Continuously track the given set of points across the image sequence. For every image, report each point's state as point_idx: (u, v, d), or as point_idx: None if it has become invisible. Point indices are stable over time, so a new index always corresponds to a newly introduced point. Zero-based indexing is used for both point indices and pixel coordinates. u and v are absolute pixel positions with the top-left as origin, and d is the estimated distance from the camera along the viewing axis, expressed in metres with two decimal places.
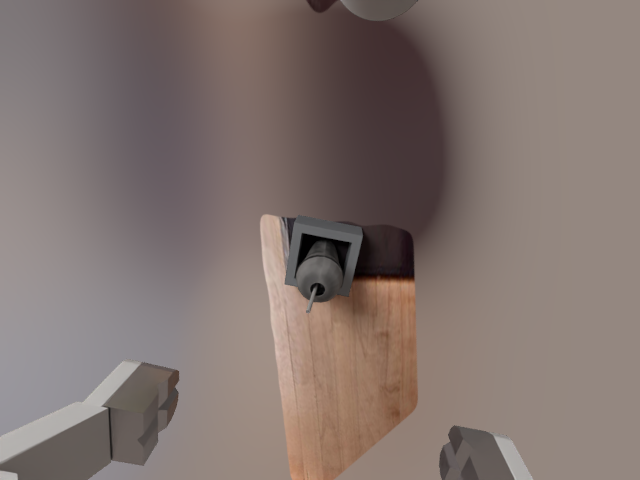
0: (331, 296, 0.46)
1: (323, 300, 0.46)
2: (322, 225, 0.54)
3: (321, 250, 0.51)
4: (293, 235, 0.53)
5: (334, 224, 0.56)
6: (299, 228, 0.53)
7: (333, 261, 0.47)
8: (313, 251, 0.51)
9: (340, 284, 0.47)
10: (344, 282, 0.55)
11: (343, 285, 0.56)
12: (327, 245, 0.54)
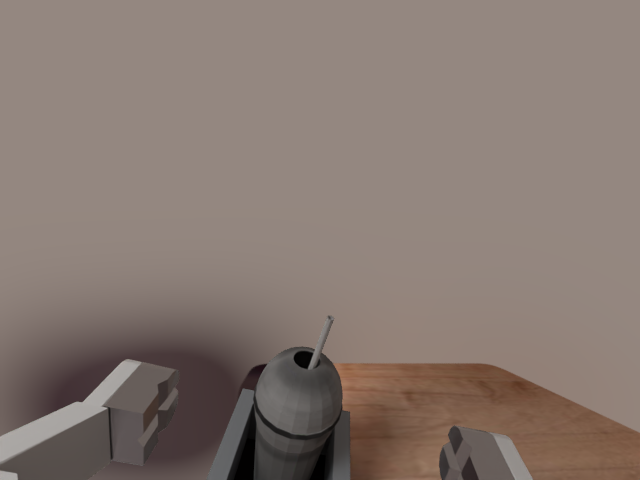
0: None
1: (330, 362, 0.26)
2: None
3: (257, 430, 0.27)
4: None
5: None
6: None
7: None
8: (258, 444, 0.26)
9: (303, 354, 0.28)
10: None
11: None
12: None
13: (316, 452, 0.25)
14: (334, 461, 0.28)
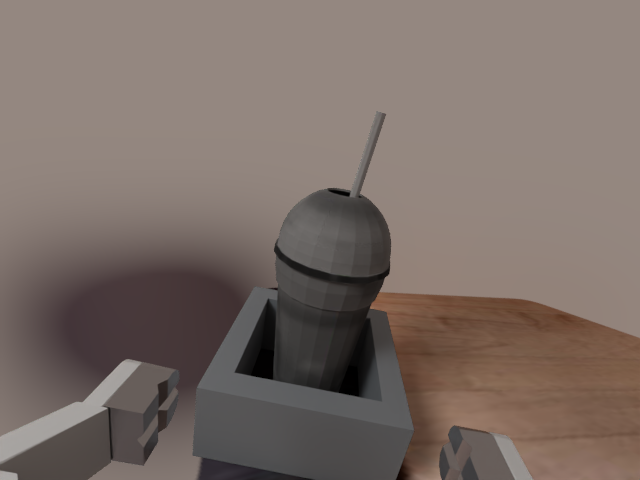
0: None
1: None
2: None
3: (277, 304, 0.21)
4: (240, 392, 0.17)
5: None
6: (219, 376, 0.18)
7: None
8: (280, 315, 0.20)
9: None
10: None
11: None
12: None
13: (359, 320, 0.19)
14: (376, 351, 0.22)
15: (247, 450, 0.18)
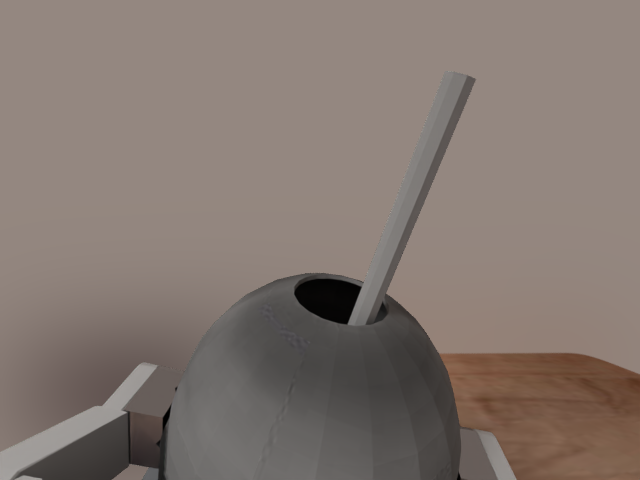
0: None
1: None
2: None
3: None
4: None
5: None
6: None
7: None
8: None
9: (320, 308, 0.11)
10: None
11: None
12: None
13: None
14: None
15: None
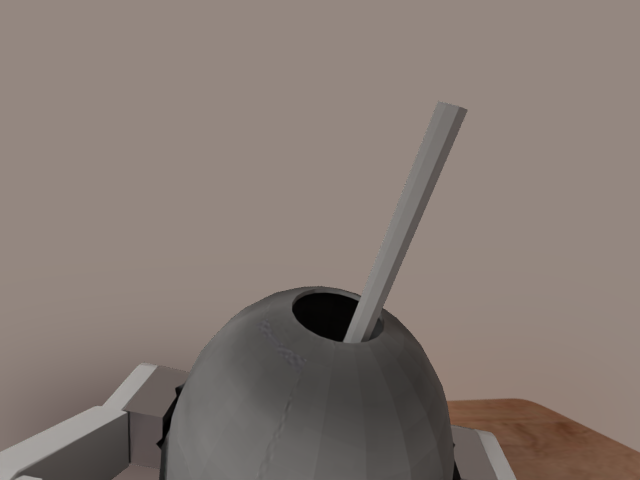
0: None
1: None
2: None
3: None
4: None
5: None
6: None
7: None
8: None
9: (319, 317, 0.11)
10: None
11: None
12: None
13: None
14: None
15: None
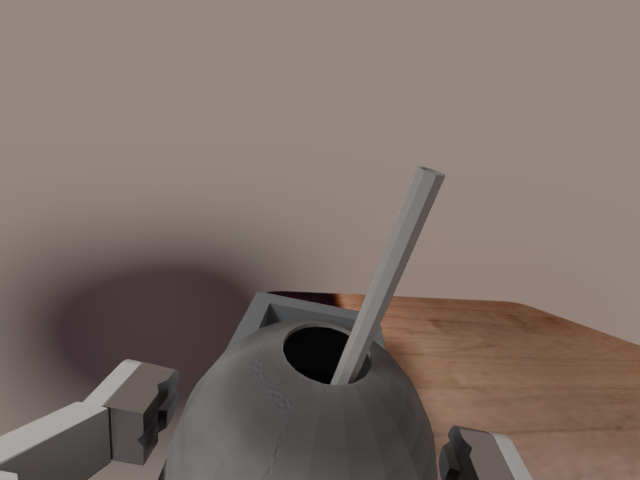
0: None
1: (393, 359, 0.09)
2: None
3: None
4: None
5: None
6: None
7: None
8: None
9: (313, 342, 0.11)
10: (352, 317, 0.28)
11: None
12: None
13: None
14: None
15: None
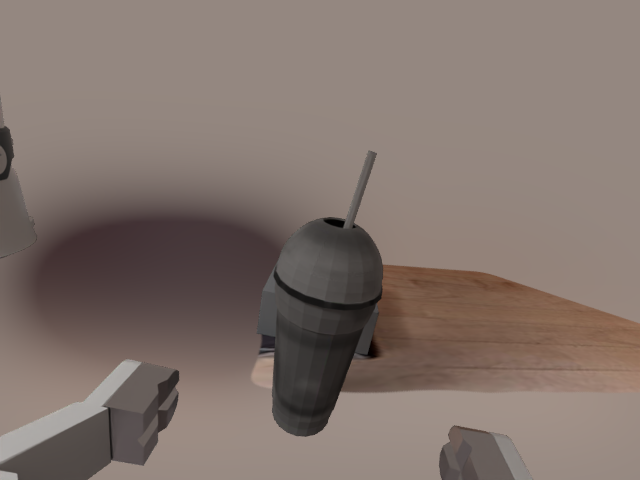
0: None
1: None
2: None
3: (277, 324, 0.22)
4: None
5: None
6: (273, 287, 0.32)
7: None
8: (279, 336, 0.21)
9: None
10: None
11: None
12: None
13: (352, 341, 0.20)
14: None
15: None
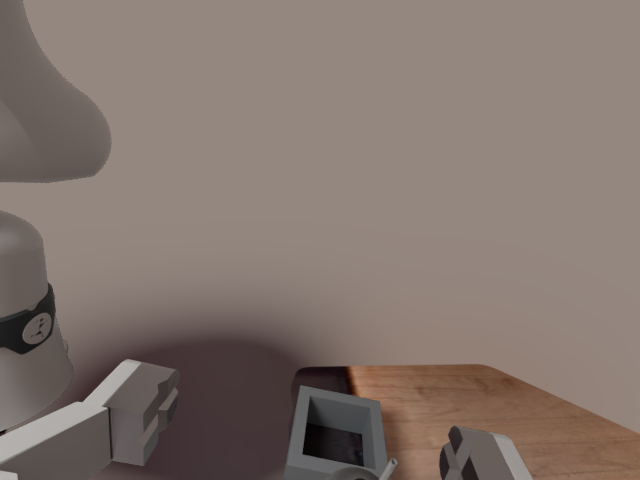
0: (374, 475, 0.26)
1: None
2: (291, 437, 0.40)
3: None
4: (307, 467, 0.35)
5: (291, 434, 0.42)
6: (295, 457, 0.36)
7: None
8: None
9: None
10: (362, 405, 0.44)
11: (366, 405, 0.44)
12: None
13: None
14: (373, 434, 0.40)
15: None
